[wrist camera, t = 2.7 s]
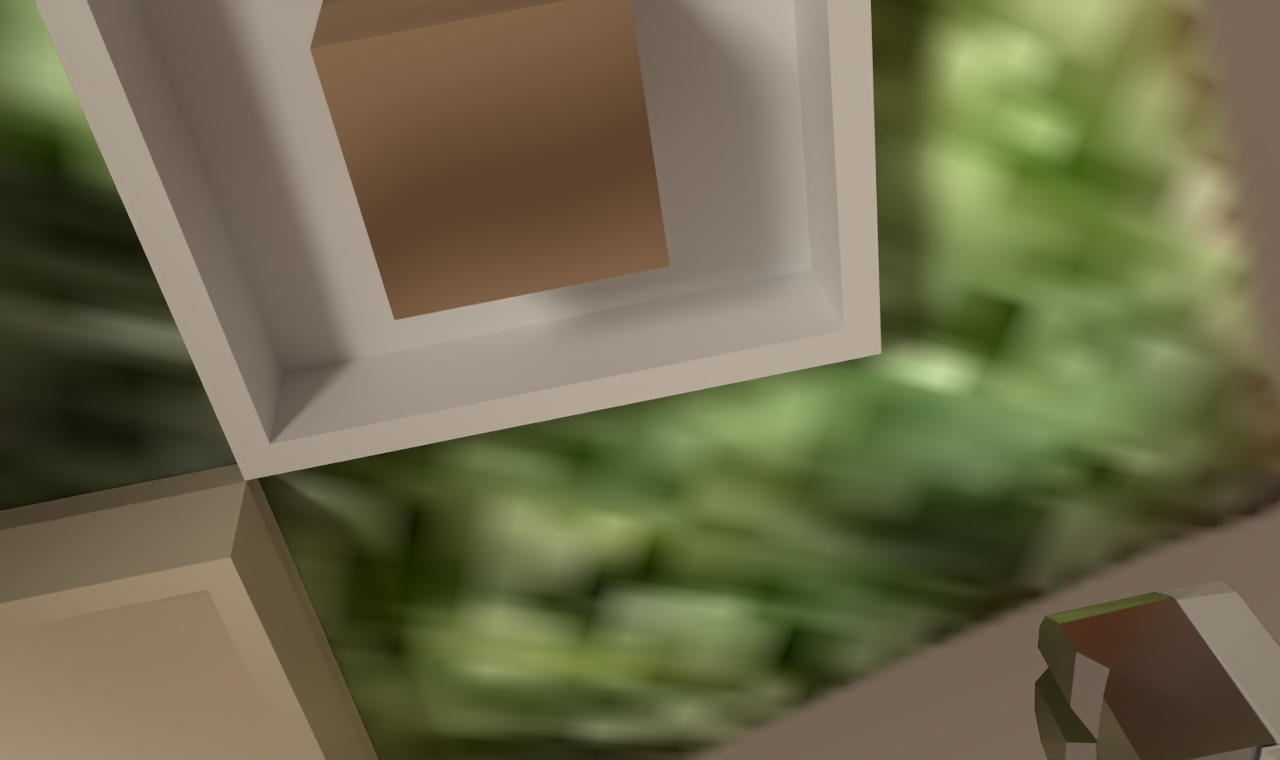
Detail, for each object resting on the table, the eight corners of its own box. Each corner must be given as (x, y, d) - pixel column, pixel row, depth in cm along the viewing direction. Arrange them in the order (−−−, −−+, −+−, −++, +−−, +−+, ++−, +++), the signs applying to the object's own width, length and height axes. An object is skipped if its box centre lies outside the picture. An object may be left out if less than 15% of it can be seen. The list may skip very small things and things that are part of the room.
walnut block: (333, -39, 22) (310, 48, 18) (594, -88, 23) (629, -11, 18) (401, 198, 25) (394, 320, 21) (632, 153, 25) (669, 266, 21)
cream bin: (-319, 574, 29) (-402, 684, 26) (250, 461, 29) (230, 557, 27) (-47, 894, 37) (-88, 1005, 34) (397, 801, 38) (393, 903, 35)
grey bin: (-1, -270, 20) (-73, -243, 17) (800, -413, 21) (858, -409, 18) (264, 388, 28) (244, 480, 25) (837, 275, 29) (881, 353, 26)
